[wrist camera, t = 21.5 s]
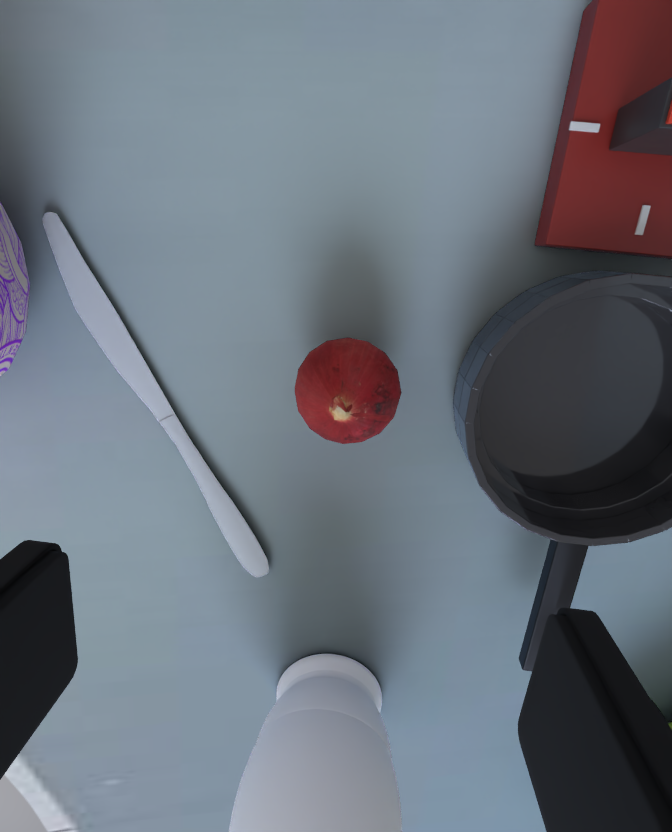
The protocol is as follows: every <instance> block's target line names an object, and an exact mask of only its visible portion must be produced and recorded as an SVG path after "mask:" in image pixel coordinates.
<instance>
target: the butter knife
mask: <svg viewBox="0 0 672 832" xmlns="http://www.w3.org/2000/svg"><path fill="white" fill-rule="evenodd" d="M42 222H43V225H44V228H45V231H46V234H47V237H48V240H49V243H50V246H51V249H52V251H53V254H54V257H55V260H56V262H57V265H58V268H59V271H60V273H61V276H62V278H63V281H64V283H65V286H66V288H67V291H68V293H69V296H70V298H71V300H72V303H73V305H74V308H75V310H76V311H77V313H78V314H79V316H80V318H81V319H82V321H83V322H84V324H85V325H86V327H87V328H88V330H89V331H90V333H91V334H92V336H93V337H94V339H95V340H96V341H97V343H98V344H99V346H100V347H101V349H102V350H103V351H104V353H105V354H106V356H107V357H108V359H109V360H110V362H111V363H112V364H113V366H114V367H115V369H116V370H117V372H118V373H119V374H120V375H121V376H122V377H123V379H124V380H125V381H126V382H127V383H128V384H129V386H130V387H131V388H132V389H133V390H134V391H135V393H136V394H137V395H138V396H139V397H140V398H141V400H142V401H143V402H144V403H145V404H146V405H147V407H148V408H149V409H150V411H151V412H152V413H153V415H154V416H155V418H156V419H157V421H159V423H160V424H161V425H162V427H163V428H164V429H165V431H166V432H167V433H168V435H169V436H170V438H171V439H172V440H173V442H174V443H175V445H176V446H177V448H178V450H179V452H180V453H181V455H182V457H183V458H184V460H185V462H186V464H187V465H188V467H189V469H190V470H191V472H192V474H193V476H194V477H195V479H196V481H197V483H198V485H199V487H200V489H201V491H202V493H203V495H204V498H205V500H206V502H207V504H208V506H209V509H210V511H211V513H212V514H213V516H214V518H215V520H216V522H217V524H218V526H219V528H220V529H221V531H222V533H223V535H224V537H225V538H226V540H227V542H228V544H229V546H230V547H231V549H232V551H233V552H234V554H235V556H236V557H237V559H238V560H239V562H240V563H241V565H242V566H243V567H244V569H246V570H247V571H248V572H249V573H250V574H251V575H253V576H254V577H261V576H264V575H266V574H268V572H269V567H268V560H267V558H266V556H265V554H264V552H263V550H262V548H261V546H260V544H259V543H258V541H257V539H256V537H255V536H254V534H253V533H252V531H251V529H250V528H249V526H248V525H247V523H246V521H245V520H244V518H243V517H242V515H241V514H240V512H239V510H238V509H237V507H236V506H235V504H234V503H233V501H232V500H231V499H230V497H229V496H228V495H227V493H226V492H225V490H224V489H223V488H222V486H221V485H220V483H219V482H218V480H217V479H216V478H215V476H214V475H213V473H212V472H211V470H210V469H209V467H208V466H207V464H206V463H205V461H204V459H203V458H202V456H201V455H200V453H199V452H198V450H197V449H196V447H195V446H194V444H193V443H192V441H191V440H190V438H189V436H188V435H187V433H186V432H185V430H184V428H183V427H182V425H181V423H180V421H179V420H178V418H177V416H176V415H175V413H174V411H173V409H172V408H171V406H170V404H169V403H168V401H167V399H166V397H165V396H164V394H163V392H162V390H161V389H160V387H159V385H158V383H157V382H156V380H155V378H154V376H153V375H152V373H151V371H150V369H149V368H148V366H147V364H146V362H145V361H144V359H143V357H142V355H141V354H140V352H139V350H138V348H137V347H136V345H135V343H134V341H133V340H132V338H131V336H130V334H129V333H128V331H127V329H126V328H125V326H124V324H123V322H122V321H121V319H120V317H119V315H118V314H117V312H116V310H115V309H114V307H113V306H112V304H111V302H110V301H109V299H108V298H107V296H106V294H105V293H104V291H103V290H102V288H101V286H100V285H99V283H98V282H97V280H96V278H95V277H94V275H93V274H92V272H91V270H90V269H89V267H88V266H87V264H86V263H85V261H84V259H83V258H82V256H81V254H80V252H79V251H78V249H77V247H76V245H75V244H74V242H73V240H72V238H71V237H70V235H69V233H68V231H67V230H66V228H65V226H64V225H63V223H62V221H61V220H60V218H59V216H58V215H57V214H56V213H53V212H47V213H45V215H44V217H43V219H42Z"/></svg>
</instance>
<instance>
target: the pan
mask: <svg viewBox="0 0 672 832" xmlns="http://www.w3.org/2000/svg"><path fill="white" fill-rule="evenodd" d="M453 408H454V418H455V428H456V433H457V436H458V438H459V440H460V443H461V445H462V448H463V450H464V453H465V455H466V458H467V460H468V462H469V464H470V466H471V468H472V471H473V473H474V475H475V477H476V479H477V481H478V484H479V486H480V487H481V489H482V490H483V491H484V492H485V494H486V495H487V496H488V497H489V499H490V500H491V501H492V502H493V504H494V505H495V506H496V507H497V509H498V510H499V511H500V512H501V513H503V514H504V515H506V516H507V517H508V518H510V519H511V520H513V521H514V522H516V523H517V524H518V525H520V526H521V527H523V528H524V529H526V530H528V531H530V532H533V533H536V534H538V535H541V536H544V537H546V538H549V539H552V540H554V541H557V542H563V543H572V544H580V545H588V546H598V545H608V544H618V543H628V542H632V541H635V540H638V539H641V538H644V537H647V536H650V535H654V534H657V533H660V532H663V531H665V530H667V529H669V528H671V527H672V277H669V276H659V275H649V274H639V273H626V272H611V271H589V272H583V273H577V274H571V275H565V276H560V277H556V278H554V279H552V280H549V281H547V282H545V283H542V284H540V285H538V286H536V287H533V288H531V289H529V290H526V291H525V292H523V293H521V294H520V295H519V296H517V297H516V298H515V299H513V300H512V301H511V302H509V303H508V304H507V305H506V306H504V307H503V308H502V309H500V310H499V311H498V312H496V314H494V315H493V317H492V318H491V319H490V320H489V321H488V323H487V324H486V325H485V326H484V328H483V329H482V330H481V331H480V332H479V334H478V335H477V336H476V337H475V339H474V340H473V341H472V343H471V345H470V347H469V349H468V352H467V354H466V356H465V358H464V360H463V362H462V364H461V367H460V369H459V372H458V376H457V382H456V387H455V393H454V399H453Z"/></svg>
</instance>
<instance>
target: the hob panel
mask: <svg viewBox="0 0 672 832" xmlns="http://www.w3.org/2000/svg"><path fill="white" fill-rule="evenodd" d="M671 77H672V0H592V2H591V3H590V4H589V5H588V6H587V7H586V9H585V10H584V11H583V16H582V21H581V25H580V30H579V35H578V40H577V44H576V49H575V54H574V59H573V63H572V68H571V73H570V78H569V82H568V87H567V92H566V97H565V101H564V106H563V111H562V116H561V121H560V125H559V130H558V135H557V140H556V144H555V149H554V154H553V159H552V163H551V168H550V173H549V178H548V182H547V187H546V192H545V197H544V201H543V206H542V211H541V216H540V220H539V225H538V230H537V235H536V239H535V246H543V247H554V248H564V249H574V250H584V251H595V252H605V253H615V254H626V255H636V256H646V257H657V258H667V259H672V156H670V155H659V154H647V153H635V152H624V151H612V150H609V147H610V143H611V139H612V135H613V131H614V126H615V122H616V118H617V114H618V110H619V109H620V108H621V107H623V106H625V105H626V104H628V103H630V102H631V101H633V100H634V99H636V98H638V97H639V96H641V95H643V94H644V93H646V92H648V91H649V90H651V89H653V88H654V87H656V86H658V85H659V84H661V83H663V82H664V81H666V80H668V79H669V78H671Z"/></svg>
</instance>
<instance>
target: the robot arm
mask: <svg viewBox="0 0 672 832" xmlns="http://www.w3.org/2000/svg"><path fill="white" fill-rule="evenodd" d="M77 663H78V656H77V645H76V635H75V624H74V613H73V603H72V592H71V581H70V571H69V560H68V556H67V554H66V553H64V552H62V551H61V548H60V546H59V545H58V544H55V543H48V542H40V541H32V540H27V541H23V542H22V543H20V544H19V545H18V546H16V547H15V548H14V549H13V550H11V551H10V552H9V553H8V554H7V555H5V556H4V557H3V558H2V559H0V779H1V778H2V776H3V775H4V774H5V772H6V771H7V769H8V768H9V767H10V765H11V764H12V762H13V761H14V760H15V758H16V757H17V755H18V754H19V753H20V751H21V750H22V748H23V747H24V746H25V744H26V743H27V741H28V740H29V739H30V737H31V736H32V734H33V733H34V732H35V730H36V729H37V727H38V726H39V725H40V723H41V722H42V720H43V719H44V718H45V716H46V715H47V713H48V712H49V711H50V709H51V708H52V706H53V705H54V704H55V702H56V701H57V699H58V698H59V697H60V695H61V694H62V692H63V691H64V690H65V688H66V687H67V685H68V684H69V683H70V681H71V679H72V678H73V676H74V674H75V671H76V668H77ZM518 735H519V741H520V745H521V748H522V751H523V755H524V758H525V761H526V765H527V768H528V771H529V775H530V778H531V781H532V785H533V788H534V791H535V795H536V798H537V801H538V805H539V808H540V811H541V815H542V818H543V821H544V824H545V828H546V831H547V832H672V729H671V728H670V726H669V725H668V723H667V721H666V720H665V718H664V717H663V715H662V713H661V712H660V710H659V709H658V707H657V706H656V705H655V704H654V702H653V701H652V700H651V699H650V698H649V696H648V695H647V693H646V692H645V690H644V688H643V687H642V685H641V684H640V682H639V680H638V679H637V677H636V676H635V674H634V672H633V671H632V669H631V668H630V666H629V664H628V663H627V661H626V660H625V658H624V656H623V655H622V653H621V651H620V650H619V648H618V647H617V645H616V643H615V642H614V640H613V639H612V637H611V635H610V634H609V632H608V631H607V629H606V627H605V626H604V624H603V623H602V621H601V619H600V618H599V616H598V615H597V614H596V613H595V612H593V611H587V610H579V609H571V608H560V609H559V610H558V612H557V614H556V615H554V614H551V615H549V616H548V618H547V621H546V625H545V628H544V632H543V635H542V639H541V642H540V646H539V649H538V653H537V656H536V660H535V664H534V667H533V671H532V674H531V678H530V681H529V685H528V688H527V692H526V695H525V699H524V702H523V706H522V709H521V713H520V716H519V721H518Z"/></svg>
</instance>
